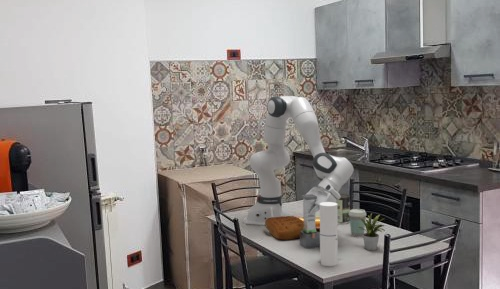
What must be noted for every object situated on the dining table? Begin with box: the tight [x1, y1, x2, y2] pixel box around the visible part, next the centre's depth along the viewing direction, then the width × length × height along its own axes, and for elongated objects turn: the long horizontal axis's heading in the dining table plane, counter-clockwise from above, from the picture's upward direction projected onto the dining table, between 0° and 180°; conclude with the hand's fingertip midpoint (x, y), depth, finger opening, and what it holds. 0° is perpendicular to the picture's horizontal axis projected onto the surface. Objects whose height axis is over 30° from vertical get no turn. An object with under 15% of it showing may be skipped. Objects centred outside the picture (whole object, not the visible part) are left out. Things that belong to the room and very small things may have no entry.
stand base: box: [299, 230, 320, 250], centre depth 228 cm, size 12×12×8 cm
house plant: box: [357, 212, 386, 251], centre depth 224 cm, size 14×14×16 cm
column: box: [301, 194, 317, 234], centre depth 226 cm, size 5×5×18 cm
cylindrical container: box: [319, 202, 339, 267], centre depth 207 cm, size 7×7×25 cm
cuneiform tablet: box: [264, 215, 304, 241], centre depth 247 cm, size 22×17×8 cm
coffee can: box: [336, 193, 351, 225], centre depth 269 cm, size 10×10×14 cm
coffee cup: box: [349, 208, 367, 238], centre depth 245 cm, size 8×8×12 cm
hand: (308, 212), depth 226 cm, fingers closed on column, 4 cm apart
